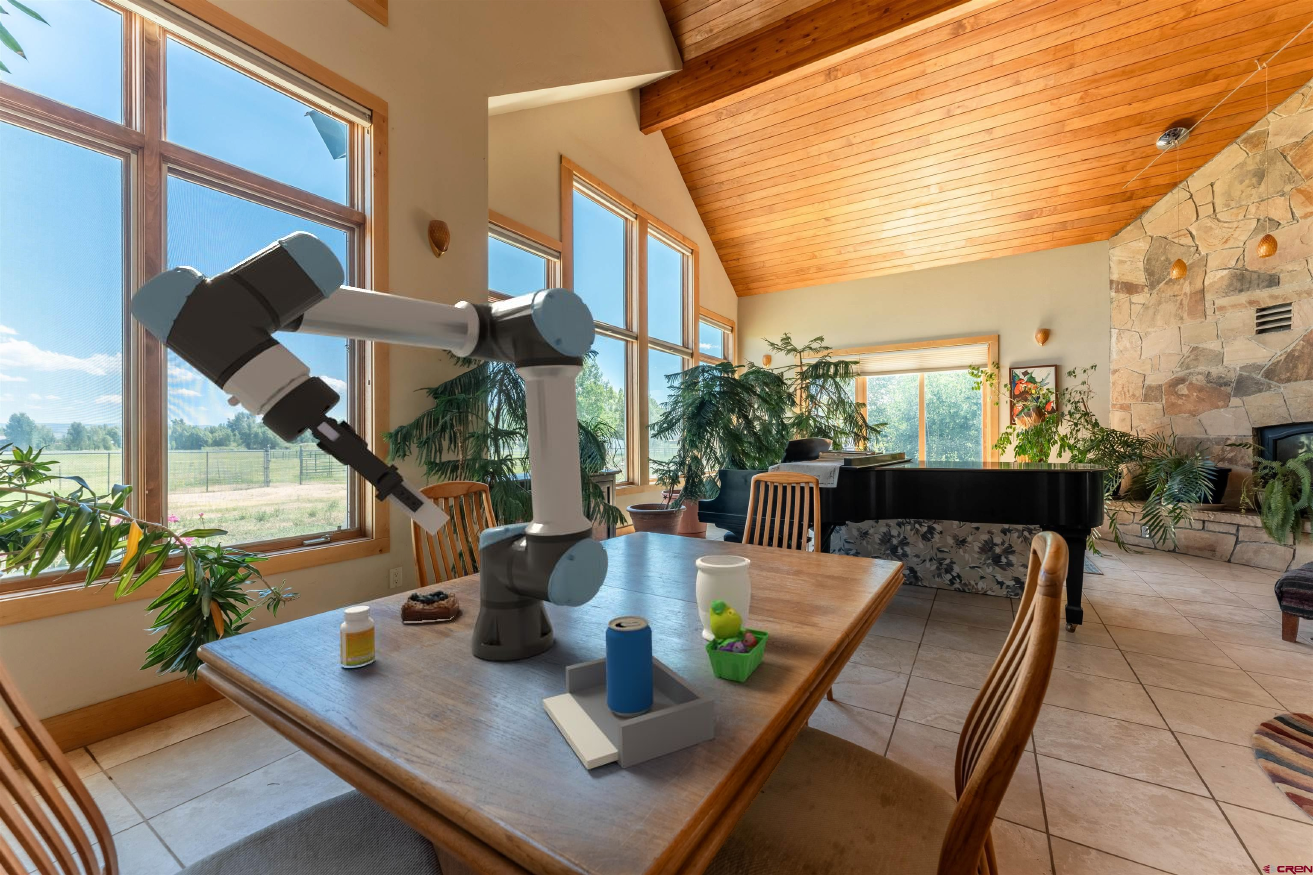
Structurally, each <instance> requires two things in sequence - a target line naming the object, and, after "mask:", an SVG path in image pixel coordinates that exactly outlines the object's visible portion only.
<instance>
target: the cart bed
mask: <svg viewBox="0 0 1313 875" xmlns="http://www.w3.org/2000/svg"><path fill="white" fill-rule="evenodd" d="M652 663H653V705H652V706H651V707H650V708H649V709H648V710H647V711H646V712H645V713H643V714H641V715H639V716H634V717H624V716H619V715H617V714H615V713H614V712H613V711H612V710H610V709H609V708H608V706H607V676H606V657H601V658H598V659H594V660H590V661H589V660H588V661H586V662H585V661H583V662H580V663H575V664H572V665H567V666H565V693H563V694H560V695H555V696H550V697H547V698H542V707H543V709H544V710H545V712H546V713H547V715H548V716H549V717H550V719H551V720H552V722H553V724H555V726H556V727H557V729H558V730H559V731H560V733H561V735H563V737H564V739H565V740H566V741H567V743H568V744H569V746H570V747H571V749H572V750H573V752H575V754H576V755H577V757H578V759H579V760H580V761H581V763H582V764H583V765H584V767H585V769H586V770H591V769H594V768H597V767H600V766H603V765H605V764H609V763H611V762H612V763H613V762H615V761H616V762H617V763H618V766H620V768H622V770H624V769H626V768H630V767H632V766H636V765H639V764H641V763H644V762H648V761H650V760H653V759H656V758H659V757H663V756H666V755H669V754H672V753H675V752H677V751H681V750H683V749H686V748H689V747H693V746H695V745H698V744H701V743H703V742H707V741H710V740H712V739H715V700H714V698H712V697H711V696H709V695H708V694H706V693H705V692H704V691H703V690H701V689H699V688H698V687H697V686H695V685H694V684H693V683H691V682H690V681H688V680H687V679H686V678H684V677H683V676H681V675H680V674H679V673H677V672H676V671H674V670H673V669H671V667H669V666H667V664H665V663H663V661H661V660H659V659H658V658H657V657H655V656H654V655H652Z"/></svg>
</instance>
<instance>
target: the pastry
mask: <svg viewBox="0 0 1313 875" xmlns="http://www.w3.org/2000/svg"><path fill="white" fill-rule="evenodd" d="M458 599H459V598H457V596H456V593H452V592H445V593H444V591H442V590H436V591H435V592H430V593H426V594H424V593H422V592H421V593H417V592H414V593H411V595H409V596H408V597H407V600H406V601H404V603H403V604H402V605H401V608H400V609H401V610H400V611H401V613H400V618H401V621H402V620H403V621H422V620H437V619H450V618H451V617H453V616H455V615H456V614H457V615H458V613H457V612H459V609H460V602H459V600H458ZM457 615H456V616H457ZM456 616H455V617H456Z"/></svg>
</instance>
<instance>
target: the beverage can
mask: <svg viewBox="0 0 1313 875" xmlns="http://www.w3.org/2000/svg"><path fill="white" fill-rule="evenodd" d="M652 656H653V632H652V628H651V626H650V625H649V620H648V619H647V618H645V617H642V616H636V615H624V616H618V617H615V618H612V619H611V620H609V621H608V626H607V628H606V630H605V658H606V676H607V706H608V708H609V709H610V710H612V711H613V712H614V713H615V714H617V715H619V716H624V717H634V716H639V715H641V714H643V713H645V712H646V711H647V710H648V709H649V708H650V707H651V706H652V705H653V663H652Z"/></svg>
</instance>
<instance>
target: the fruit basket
mask: <svg viewBox="0 0 1313 875" xmlns="http://www.w3.org/2000/svg"><path fill="white" fill-rule="evenodd" d="M709 612H710V628H711V631H712V633H713V635H714V636H715V638H714V639H713V640H712V641H709V642H708V643H707V644H706V645H705V650H706V653H707V655H708V658H709V661H710V664H711V668H712V669H711V670H712V672H713V675H714V677H716V678H722V679H727V680H729V681H730V680H731V681H738V682H740V683H745V682H746V680H747V679H748V677H750V676H751V675H752V673H753V672H754V671H755V670H756V669H757V668H758V666H759V665H760V664H761V663H762V660H763V656H764V653H765V649H766V648H765V647H766V644H767V641H768V639H769V636H770V633H769V632H768V631H764V630H759V629H753V628H746V627H744V628H742V627H741V624H742V618H741V616H740V615H739V614H738V613H737V612H736V611H735V610H733V609H732V608H731V607H730V606H729V605H727V604H726V603H725V602H724V601H721V600H718V601H713V603H712V605H711V608H710V611H709Z"/></svg>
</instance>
